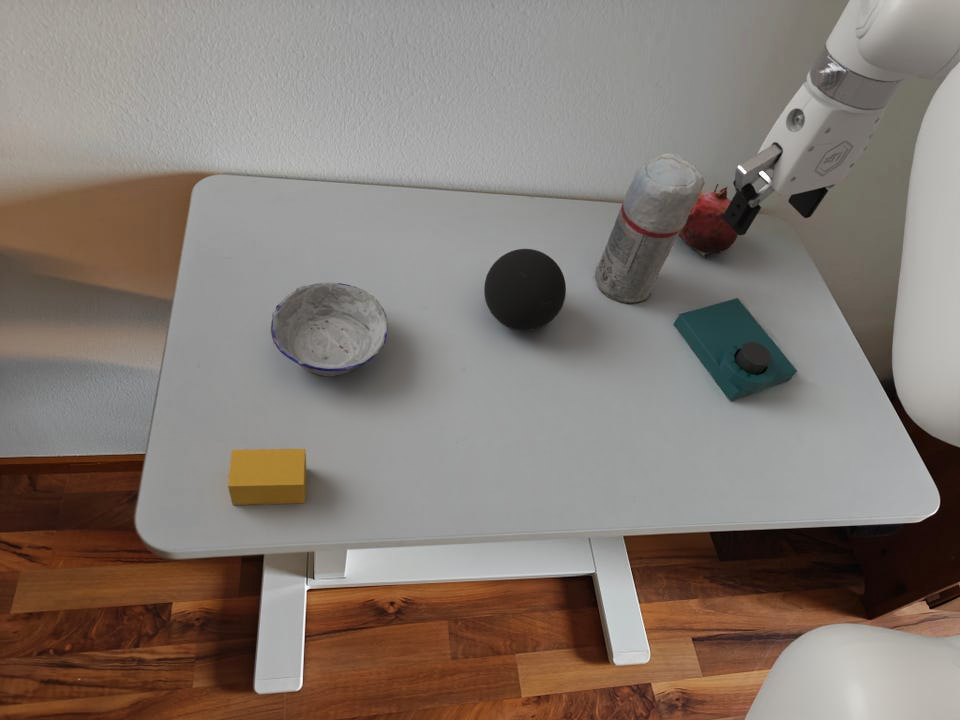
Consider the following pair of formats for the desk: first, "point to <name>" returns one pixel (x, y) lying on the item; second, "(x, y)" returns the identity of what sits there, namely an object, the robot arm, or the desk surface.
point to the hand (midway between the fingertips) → (766, 218)
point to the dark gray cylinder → (753, 358)
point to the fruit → (709, 224)
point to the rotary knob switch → (732, 347)
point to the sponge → (267, 476)
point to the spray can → (648, 227)
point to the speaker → (525, 289)
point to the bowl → (329, 327)
